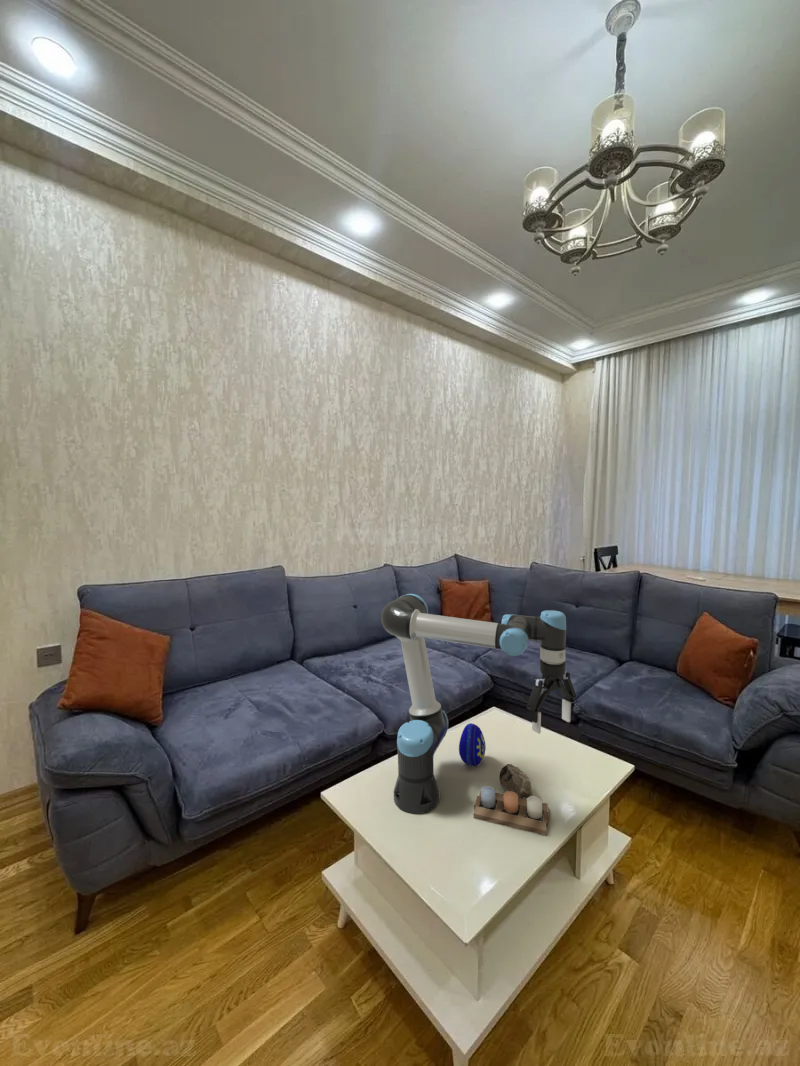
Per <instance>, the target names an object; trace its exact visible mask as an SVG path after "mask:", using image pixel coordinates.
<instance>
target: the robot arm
mask: <svg viewBox="0 0 800 1066" xmlns="http://www.w3.org/2000/svg"><path fill="white" fill-rule="evenodd" d="M380 621H381V624H382V627H383V629H384V630H385V632H387V633H388V634H390V635H392V636H394V637H396V638H397V639H398V640H399V641H400V645H401V649H402V651H401V652H402V656H403V661H404V667H405V673H406V678H407V683H408V689H409V695H410V698H411V699H410V700H411V704H412V705H410V707H409V710H408V713H409V719H410V721H409V722H408V721H406V722H405V723H403V724H402V725H401V726H400V728H399V729H398V732H397V737H396V738H397V739H396V744H397V745H396V747H397V748H396V749H397V771H398V772H397V774H398V775H397V778H396V781H395V785H394V789H393V801H394V802H393V803H394V804H395V805H396V806H397V808H399V809H400V810H402V811H404V812H407V813H409V814H410V813H411V814H424V813H427V812H430V811H431V810H433V809H435V808H436V807H437V806H438V805H439V802H440V797H441V796H440V794H441V793H440V787H439V785H438V783H437V779H436V777H435V771H434V769H435V768H434V756H435V753H436V752H437V749H439V746H440V744H441V743H442V742H443V740H444V738H445V737H446V735H447V732H448V728H449V719H448V715H447V713H446V712H445V711H444V710H443V709H442V705H441V703H440V702H439V701H438V700H436V694H435V689H434V683H433V679H432V677H433V676H432V673H431V667H430V662H429V657H428V650H427V645H426V639H428V640H429V639H431V640H437V641H443V642H450V643H457V644H463V645H470V646H476V647H481V648H482V647H484V648H490V649H495V650H496V649H497V650H502V652H504V654H505V655H507V656H513V657H516V656H520V655H522V654H523V653H524V652H525V650H527V648H528V647H529V641H536V642H540V644H539V645H540V647H539V653H540V654H539V658H540V661H539V670H540V673H541V675H542V676H541V678H534V680H533V686H532V690H531V693H530V695H529V698H528V701H527V704H526V707H525V709H526V710H527V711H529V712H530V713H531V719H530V720H531V722H532V723H531V724H532V725H531V726H532V727H531V730H532V731H534V732H535V733H537V734H539V735H540V734H541V731H542V730H541V729H542V727H541V726H542V723H541V722H542V712H541V709H542V707H543V705H544V702H545V701H546V699H547V697H548V695H550V694H551V692H554V691H559V693H560V695H561V696H562V697H563V698H562V699H561V702H562V703H561V719H562V720H563V721H565V722H567V723H571V712H572V711H571V710H572V703H575V701H576V700H575V699H576V698H577V692H576V690H575V688H574V685H573V683H572V680H571V673H570V672H568V671H566V648H567V645H566V644H567V617H566V615H565V613H564V612H562V611H558V610H554V609H553V610H551V609H550V610H548V609H547V610H543V611H541V613H540V616H534V615H533V616H530V615H520V614H516V613H514V614H513V613H512V614H506V613H505V614H504V615H503V616H502V619H501V623H499V622H494V621H493V622H491V621H484V620H478V619H469V618H460V617H455V616H446V615H438V614H431V613H429V608H428V604H427V602H426V601H425V600H424V598H422V597H421V596H420V595H418V594H416V593H415V594H414V593H406V594H404V595H401V596H399V597H398V598H396V599H394V600H392V601H390V602H388V603H387V604H386V605H385V606H384V608H383V609H382V612H381V617H380Z"/></svg>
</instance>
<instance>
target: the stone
mask: <svg viewBox="0 0 800 1066" xmlns="http://www.w3.org/2000/svg"><path fill="white" fill-rule="evenodd" d="M499 783H500V785H501V786H502V787H503V788H504V790H505V792H507V791H512V792H515V793H516V794H517V795H518V797H519V798H524V799H527V798H528V797H530V796H532V794H533V792H532V783H531V779H530V777H529V776H528V775H527V774H526V772H523V770H521V769H520V768H519V767H518V766H515V765H513V764H512V763H506V765H504V766H503V767H502V768H501V770H500V772H499Z"/></svg>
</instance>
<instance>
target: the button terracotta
mask: <svg viewBox="0 0 800 1066" xmlns="http://www.w3.org/2000/svg"><path fill="white" fill-rule="evenodd" d="M503 794H504V808H503V810H504V811H505V812H506V813H508V814H516V813H519V809H518V795H517V794H516V793H515V792H512V791H505V792H504V793H503Z"/></svg>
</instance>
